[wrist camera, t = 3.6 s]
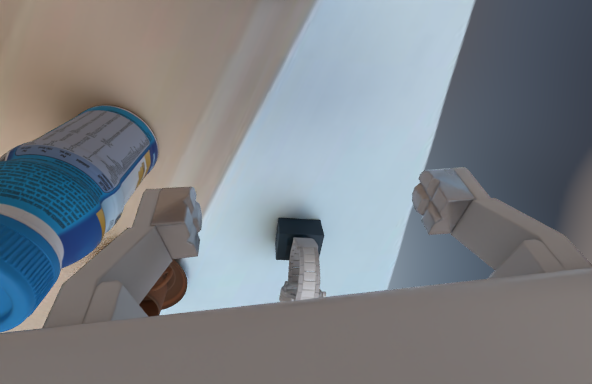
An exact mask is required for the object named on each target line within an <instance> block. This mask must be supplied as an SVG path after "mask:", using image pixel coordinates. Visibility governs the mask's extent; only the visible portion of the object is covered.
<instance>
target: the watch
mask: <svg viewBox="0 0 592 384" xmlns="http://www.w3.org/2000/svg"><path fill="white" fill-rule="evenodd" d="M323 238H324V233H323V229H322V225H321V221H320V220H308V219H290V218H279V219H278V226H277V234H276V242H275V247H276V260H289V272H288V277H289V278H288V281H286V282H285V284H284V286H283V287H282V288H281V293H280V298H279V300H280V302H286V301H295V300H303V299H312V298H321V297H326V292H322V291H321V290H320V266H319V265H320V264H319V255H320V251H321V247H322V243H323ZM291 262H293V263H291ZM293 267H299V268H293ZM306 271H315V272H306Z"/></svg>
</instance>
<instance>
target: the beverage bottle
mask: <svg viewBox="0 0 592 384" xmlns="http://www.w3.org/2000/svg"><path fill="white" fill-rule="evenodd" d="M157 158H158V144H157V140H156V138H155V135H154V134H153V132H152V130H151V129H150V127H149V126H148V125H147V124H146V123H145V122H144V121H143V120H142V119H141V118H140V117H138V116H137V115H135V114H134V113H132V112H130V111H128V110H126V109H123V108H120V107H116V106H108V105H103V106H96V107H92V108H89V109H87V110H85V111H84V112H82V113H80V114H79V115H78V116H76V117H75V118H73V119H71V120H69V121H68V122H66V123H64V124H62V125H60V126H59V127H57V128H55V129H53V130H51V131H50V132H48V133H46V134H44V135H42V136H40V137H39V138H37V139H35V140H33V141H31V142H27V143H24V144H21V145H19V146H17V147H15V148H13V149H11V150H10V151H8V152H7V153H5V154H4V155H3V156H2V157H1V158H0V332H4V331H7V330H10V329H12V328H14V327H16V326H18V325H19V324H21V323H22V322H23V321H24V320H25V319H26V318H27V317H29V316H30V315H31V314H32V313H33V312H34V310H35V309H36V308H37V306H38V305H39V304H40V302H41V301H42V300H43V299H44V297H45V296H46V295H47V293H48V292H49V291H50V289H51V288H52V286H53V285H54V284H55V282H56V281H57V279H58V277H59V274H60V271H61V268H64V267H66V266H68V265H71V264H73V263H75V262H77V261H78V260H80V259H82V258H83V257H85V256H86V255H88V254H89V253H90V252H92V251H93V250H94V249H95V248H96V247H97V246H98V245H99V243H100V242H101V240H102V238H103V236H104V234H105V233H106V232H108V231H109V230H110V229H111V228H112V227H113V226H114V225H115V224H116V222H117V221H118V220H119V218H120V216H121V214H122V212H123V209H124V205H125V204H126V203H127V201H128V200H129V198H130V197H131V195H132V194H133V193H134V191H135V190H136V188H137V187H138V185H139V184H140V183H141V181H142V180H143V179H144V177H145V176H146V175H147V174H148V173H149V172H150V171H151V170H152V168H153V167H154V165H155V163H156V161H157Z"/></svg>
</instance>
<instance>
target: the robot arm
mask: <svg viewBox="0 0 592 384" xmlns="http://www.w3.org/2000/svg"><path fill="white" fill-rule="evenodd" d="M419 180H420V182H421V183H419V184H418V185H417V186H416V187H415V188H414V191H413V193H412V201H413V205H414V208H415V209H416V211H417V212H418V213H420V214H421V215H423V217H422V223H423V224H424V226H425V228H426V230H427V232H428V234H429V235H432V234H447V233H451V235H452V236H453V237H455V238H456V239H457V240H458V241H460V242H461V243H462V244H463V245H464V246H466V247H467V248H468V249H469V250H471V251H472V252H473V253H474V254H476V255H477V256H478V257H479V258H481V259H482V260H483V261H484V262H485V263H487V264H488V265H489V266H490V267H492V268H493V269H494V270H495V271H494V272H493V273H492V274H491V275H490V276H489V277H488V279H483V280H474V281H466V282H456V283H447V284H438V285H429V286H420V287H411V288H402V289H393V290H384V291H375V292H366V293H357V294H348V295H339V296H330V297H321V298H312V299H303V300H295V301H286V302H277V303H268V304H259V305H250V306H241V307H232V308H223V309H214V310H205V311H196V312H187V313H178V314H169V315H160V316H151V317H148V315H147V314H146V313H145V312H144V310H143V309H142V308H141V307H140V306H139V304H140V303H141V301H142V300H143V299H144V297H145V296H146V295H147V293H148V292H149V291H150V289H151V288H152V287H153V286H154V284H155V283H156V282H157V280H158V279H159V278H160V276H161V275H162V274H163V272H164V271H165V270H166V268H167V267H168V266H169V265H170V263H171V262H172V259H178V258H187V257H195V256H198V251H199V244H200V239H199V236H198V232H199V231H200V230H201V227H202V213H201V208H200V204H199V203H198V202H196V192H195V189H194V188H193V187H178V188H162V189H146V190H145V191H144V193H143V195H142V198H141V201H140V204H139V207H138V211H137V214H136V217H135V220H134V223H133V226H132V228H127V229H126V230H124V231H123V232H122V233H121V234H120V235H119V236H118V237H116V238H115V239H114V240H113V241H112V242H111V243H109V244H108V245H107V246H106V247H105V248H104V249H103V250H101V251H100V252H99V253H98V254H97V255H96V256H94V257H93V258H92V259H91V260H90V261H89V262H88V263H86V264H85V265H84V266H83V267H82V268H81V269H80V270H78V271H77V272H76V273H75V274H74V275H73V276H71V277H70V278H69V279H68V280H67V281H66V282H65V283H63V284H62V286H61V288H60V291H59V293H58V295H57V297H56V299H55V302H54V304H53V306H52V308H51V310H50V312H49V315H48V317H47V319H46V321H45V323H44V326H43V328H42V329H33V330H24V331H15V332H6V333H0V384H592V264H591V263H590V262H589V261H588V260H587V259H586V258H585V257H584V256H583V255H582V253H581V252H580V251H579V250H578V249H577V248H576V247H575V246H574V245H573V244H572V243H571V241H570V240H569V239H568V238H567V237H566V236H565V235H563V234H561V233H559V232H557V231H556V230H554V229H552V228H550V227H548V226H546V225H544V224H542V223H541V222H539V221H537V220H535V219H533V218H531V217H529V216H528V215H526V214H524V213H522V212H520V211H518V210H516V209H514V208H512V207H511V206H509V205H507V204H505V203H503V202H501V201H499V200H497V199H495V198H490V196H489V195H488V194H487V193H486V192H485V190H484V189H483V188H482V187H481V185H480V184H479V183H478V182H477V180H476V179H475V178H474V177H473V176H472V174H471V173H470V172H469V170H468V169H466V168H464V167H460V168H450V169H437V170H424V171H423V172H422V173H421V174H420V176H419Z"/></svg>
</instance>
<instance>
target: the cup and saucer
mask: <svg viewBox="0 0 592 384" xmlns="http://www.w3.org/2000/svg"><path fill="white" fill-rule="evenodd" d="M186 289H187V278H186V275H185V272H184V270H183V269H182V267H181V266H180V265H179V264H178V263H177V262H176V261H175V260H173V259H172V262H171V263H170V265H169V266H168V267H167V268H166V270H165V271H164V272H163V274H162V275H161V276H160V278H159V279H158V280H157V282H156V283H155V284H154V286H153V287H152V288H151V289H150V291H149V292H148V293H147V295H146V296H145V297H144V299H143V300H142V301H141V303H140V304H139V306H140V307H141V308H142V309H143V310H144V312H145V313H146V314H147V315H148V317H151V316H159V314H160V311H161V310H162V309H166V308H169V307H171V306H173V305H175V304H176V303H178V302H179V301H180V300H181V299H182V298H183V296H184V295H185V292H186Z"/></svg>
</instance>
